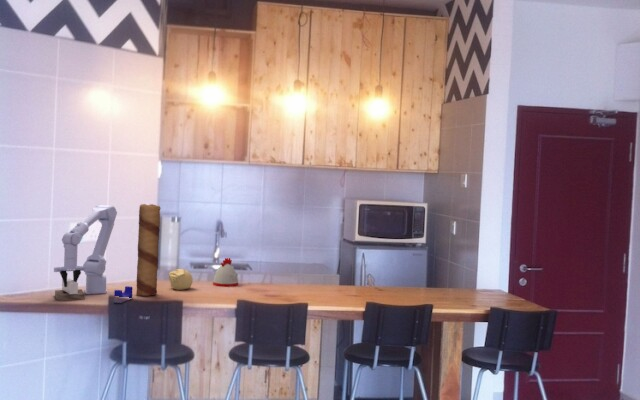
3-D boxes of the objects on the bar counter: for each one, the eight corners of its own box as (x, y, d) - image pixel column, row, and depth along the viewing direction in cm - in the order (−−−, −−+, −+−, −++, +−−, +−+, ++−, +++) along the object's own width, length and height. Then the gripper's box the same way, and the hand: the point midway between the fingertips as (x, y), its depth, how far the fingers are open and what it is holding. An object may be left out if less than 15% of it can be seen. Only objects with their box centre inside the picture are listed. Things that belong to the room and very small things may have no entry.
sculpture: (165, 288, 342) (165, 267, 341) (185, 286, 350) (186, 266, 349) (175, 291, 333) (176, 270, 333) (196, 289, 341) (196, 269, 341)
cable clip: (123, 298, 311) (123, 286, 311) (132, 299, 310) (132, 286, 310) (111, 303, 299) (111, 290, 299) (120, 303, 298) (120, 290, 298)
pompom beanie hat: (243, 284, 363) (244, 258, 362) (226, 287, 351) (227, 260, 350) (224, 281, 370) (225, 255, 370) (207, 284, 358) (208, 257, 358)
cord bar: (69, 288, 313) (69, 278, 313) (77, 293, 302) (78, 283, 302) (62, 289, 311) (62, 278, 311) (69, 294, 300) (70, 283, 300)
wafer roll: (149, 291, 329) (152, 203, 328) (161, 295, 322) (164, 205, 321) (131, 294, 321) (134, 204, 320) (143, 297, 314) (146, 205, 313)
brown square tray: (81, 294, 315) (81, 289, 315) (84, 299, 304) (84, 294, 304) (55, 295, 310) (55, 290, 310) (57, 300, 298) (57, 295, 298)
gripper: (83, 256, 314) (83, 284, 314) (52, 257, 305) (51, 285, 306) (88, 258, 308) (87, 286, 308) (56, 259, 299) (55, 288, 300)
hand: (69, 286), depth 307 cm, fingers closed on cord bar, 3 cm apart
